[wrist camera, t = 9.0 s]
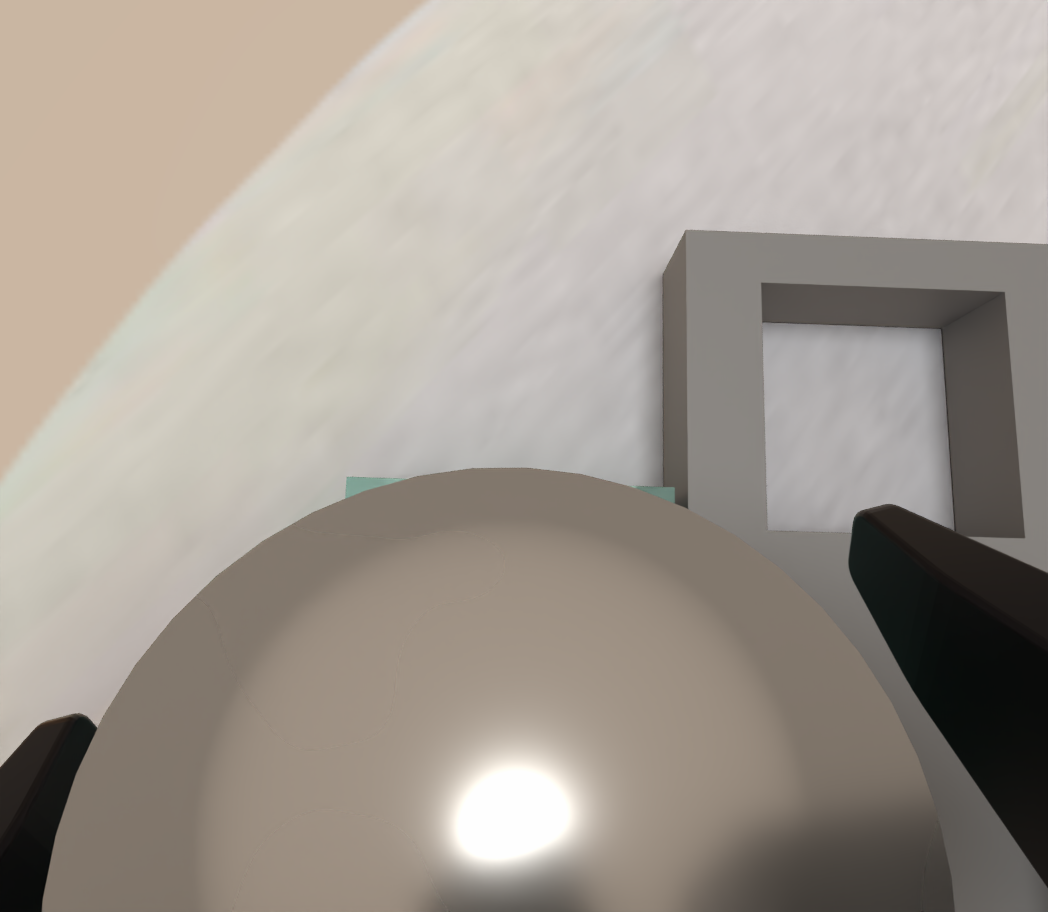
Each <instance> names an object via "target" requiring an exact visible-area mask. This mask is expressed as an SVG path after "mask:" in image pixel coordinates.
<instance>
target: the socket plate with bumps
mask: <svg viewBox="0 0 1048 912" xmlns="http://www.w3.org/2000/svg"><path fill="white" fill-rule="evenodd" d="M762 322H784V323H811V324H838V325H865V326H892V327H919V328H942V334H943V349H944V364H945V379H946V393H947V408H948V423H949V438H950V453H951V468H952V483H953V498H954V513H955V527H956V532H958V533H960V534H962V535H964V536H967V537H969V538H971V539H973V540H976V541H978V542H980V543H982V544H985V545H987V546H989V547H991V548H994V549H996V550H998V551H1000V552H1003V553H1005V554H1007V555H1010V556H1012V557H1014V558H1016V559H1019V560H1021V561H1023V562H1025V563H1028V564H1030V565H1032V566H1034V567H1037V568H1039V569H1041V570H1043V571H1046V572H1048V244H1029V243H1003V242H978V241H953V240H928V239H903V238H878V237H853V236H828V235H803V234H778V233H753V232H728V231H703V230H686V231H685V233H684V234H683V236H682V238H681V240H680V242H679V244H678V246H677V248H676V250H675V252H674V254H673V256H672V258H671V260H670V261H669V263H668V265H667V267H666V269H665V271H664V273H663V469H664V487H675V504H677V505H679V506H682V507H685V508H687V509H689V510H690V511H692V512H694V513H696V514H698V515H699V516H701V517H703V518H705V519H707V520H708V521H710V522H712V523H714V524H716V525H718V526H719V527H721V528H723V529H725V530H727V531H728V532H730V533H732V534H734V535H735V536H737V537H738V538H739V539H741V540H742V541H744V542H745V543H746V544H748V545H749V546H750V547H752V548H753V549H755V550H756V551H757V552H759V553H760V554H761V555H763V556H764V557H766V558H767V559H768V560H770V561H771V562H772V563H774V564H775V565H777V566H778V567H779V568H781V569H782V570H783V571H784V572H785V573H786V574H787V575H788V576H789V577H790V578H791V579H792V580H793V581H794V582H795V583H796V584H798V585H799V586H800V587H801V588H802V589H803V590H804V591H805V592H806V593H807V594H808V595H809V596H810V597H811V598H812V599H813V600H815V601H816V602H817V603H818V604H819V605H820V606H821V607H822V608H823V609H824V611H825V612H826V613H827V614H828V615H829V617H830V618H831V619H832V620H833V621H834V623H835V624H836V625H837V626H838V627H839V629H840V630H841V631H842V632H843V633H844V635H845V636H846V637H847V638H848V639H849V641H850V642H851V643H852V644H853V645H854V647H855V648H856V649H857V650H858V651H859V653H860V654H861V656H862V657H863V659H864V661H865V662H866V664H867V665H868V667H869V668H870V670H871V671H872V673H873V675H874V676H875V678H876V679H877V681H878V682H879V684H880V685H881V687H882V688H883V690H884V692H885V693H886V695H887V696H888V698H889V699H890V701H891V703H892V705H893V707H894V709H895V711H896V713H897V715H898V717H899V719H900V721H901V723H902V725H903V727H904V729H905V731H906V733H907V735H908V738H909V740H910V742H911V744H912V746H913V748H914V750H915V752H916V754H917V756H918V759H919V762H920V764H921V767H922V770H923V773H924V776H925V779H926V782H927V785H928V788H929V790H930V793H931V796H932V799H933V802H934V805H935V808H936V811H937V814H938V817H939V822H940V826H941V831H942V835H943V840H944V845H945V849H946V854H947V858H948V863H949V868H950V872H951V877H952V887H953V897H954V907H955V912H1048V888H1047V887H1046V885H1045V884H1044V882H1043V881H1042V879H1041V878H1040V877H1039V875H1038V874H1037V872H1036V871H1035V869H1034V868H1033V866H1032V865H1031V863H1030V862H1029V860H1028V859H1027V858H1026V856H1025V855H1024V853H1023V852H1022V850H1021V849H1020V847H1019V846H1018V844H1017V843H1016V842H1015V840H1014V839H1013V837H1012V836H1011V834H1010V833H1009V831H1008V830H1007V828H1006V827H1005V825H1004V824H1003V823H1002V821H1001V820H1000V818H999V817H998V815H997V814H996V812H995V811H994V809H993V808H992V807H991V805H990V804H989V802H988V801H987V799H986V798H985V796H984V795H983V793H982V792H981V791H980V789H979V788H978V786H977V785H976V783H975V782H974V780H973V779H972V777H971V776H970V774H969V773H968V772H967V770H966V769H965V767H964V766H963V764H962V763H961V761H960V760H959V758H958V757H957V756H956V754H955V753H954V751H953V750H952V748H951V747H950V745H949V744H948V742H947V741H946V740H945V738H944V737H943V735H942V734H941V732H940V731H939V729H938V728H937V726H936V725H935V723H934V722H933V721H932V719H931V718H930V716H929V715H928V713H927V712H926V710H925V709H924V707H923V706H922V704H921V703H920V701H919V700H918V698H917V697H916V695H915V694H914V692H913V690H912V689H911V687H910V685H909V683H908V682H907V680H906V678H905V676H904V675H903V673H902V671H901V669H900V667H899V666H898V664H897V662H896V660H895V658H894V656H893V654H892V653H891V651H890V649H889V647H888V645H887V643H886V641H885V640H884V638H883V636H882V634H881V632H880V630H879V628H878V627H877V625H876V623H875V621H874V619H873V617H872V615H871V614H870V612H869V610H868V608H867V606H866V604H865V602H864V601H863V599H862V597H861V595H860V593H859V591H858V589H857V588H856V586H855V584H854V582H853V580H852V578H851V575H850V571H849V566H848V557H849V549H850V542H851V534H852V533H829V532H797V531H767V495H766V456H765V417H764V378H763V339H762Z"/></svg>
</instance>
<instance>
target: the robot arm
mask: <svg viewBox="0 0 1048 912" xmlns="http://www.w3.org/2000/svg"><path fill="white" fill-rule="evenodd" d="M848 566H849V571H850V575H851V578H852V580H853V582H854V584H855V586H856V588H857V589H858V591H859V593H860V595H861V597H862V599H863V601H864V602H865V604H866V606H867V608H868V610H869V612H870V614H871V615H872V617H873V619H874V621H875V623H876V625H877V627H878V628H879V630H880V632H881V634H882V636H883V638H884V640H885V641H886V643H887V645H888V647H889V649H890V651H891V653H892V654H893V656H894V658H895V660H896V662H897V664H898V666H899V667H900V669H901V671H902V673H903V675H904V676H905V678H906V680H907V682H908V683H909V685H910V687H911V689H912V690H913V692H914V694H915V695H916V697H917V698H918V700H919V701H920V703H921V704H922V706H923V707H924V709H925V710H926V712H927V713H928V715H929V716H930V718H931V719H932V721H933V722H934V723H935V725H936V726H937V728H938V729H939V731H940V732H941V734H942V735H943V737H944V738H945V740H946V741H947V742H948V744H949V745H950V747H951V748H952V750H953V751H954V753H955V754H956V756H957V757H958V758H959V760H960V761H961V763H962V764H963V766H964V767H965V769H966V770H967V772H968V773H969V774H970V776H971V777H972V779H973V780H974V782H975V783H976V785H977V786H978V788H979V789H980V791H981V792H982V793H983V795H984V796H985V798H986V799H987V801H988V802H989V804H990V805H991V807H992V808H993V809H994V811H995V812H996V814H997V815H998V817H999V818H1000V820H1001V821H1002V823H1003V824H1004V825H1005V827H1006V828H1007V830H1008V831H1009V833H1010V834H1011V836H1012V837H1013V839H1014V840H1015V842H1016V843H1017V844H1018V846H1019V847H1020V849H1021V850H1022V852H1023V853H1024V855H1025V856H1026V858H1027V859H1028V860H1029V862H1030V863H1031V865H1032V866H1033V868H1034V869H1035V871H1036V872H1037V874H1038V875H1039V877H1040V878H1041V879H1042V881H1043V882H1044V884H1045V885H1046V887H1047V888H1048V572H1046V571H1043V570H1041V569H1039V568H1037V567H1034V566H1032V565H1030V564H1028V563H1025V562H1023V561H1021V560H1019V559H1016V558H1014V557H1012V556H1010V555H1007V554H1005V553H1003V552H1000V551H998V550H996V549H994V548H991V547H989V546H987V545H985V544H982V543H980V542H978V541H976V540H973V539H971V538H969V537H967V536H964V535H962V534H960V533H958V532H955V531H953V530H951V529H949V528H946V527H944V526H942V525H940V524H937V523H935V522H933V521H931V520H928V519H926V518H924V517H922V516H919V515H917V514H915V513H913V512H910V511H908V510H906V509H904V508H901V507H899V506H896V505H893V504H885V505H881V506H877V507H873V508H869V509H865V510H861V511H860V512H858V513H857V514H856V516H855V517H854V521H853V527H852V534H851V542H850V549H849V557H848ZM96 731H97V727H96V726H95V725H94V723H93V722H92V721H91V720H90V719H89V718H88V717H87V716H85V715H83V714H80V713H78V714H76V713H75V714H71V715H67V716H63V717H59V718H56V719H52V720H48V721H45V722H43V723H41V724H40V725H38V726H37V727H36V728H35V729H34V730H33V731H32V732H31V733H30V735H29V736H28V737H27V738H26V739H25V740H24V741H23V742H22V743H21V745H20V746H19V747H18V748H17V749H16V750H15V751H14V752H13V754H12V755H11V756H10V757H9V758H8V759H7V760H6V761H5V763H4V764H3V765H2V766H1V767H0V912H42V902H43V896H44V891H45V886H46V881H47V876H48V871H49V866H50V861H51V856H52V851H53V846H54V841H55V836H56V833H57V830H58V827H59V824H60V821H61V818H62V815H63V812H64V809H65V806H66V803H67V800H68V797H69V794H70V791H71V788H72V785H73V782H74V779H75V776H76V773H77V771H78V769H79V767H80V765H81V763H82V760H83V758H84V756H85V754H86V752H87V750H88V748H89V746H90V743H91V741H92V739H93V737H94V735H95V733H96Z"/></svg>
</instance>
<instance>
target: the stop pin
mask: <svg viewBox="0 0 1048 912" xmlns="http://www.w3.org/2000/svg"><path fill="white" fill-rule="evenodd" d="M42 912H955V907H954V897H953V887H952V877H951V872H950V868H949V863H948V858H947V854H946V849H945V845H944V840H943V835H942V831H941V826H940V822H939V817H938V814H937V811H936V808H935V805H934V802H933V799H932V796H931V793H930V790H929V788H928V785H927V782H926V779H925V776H924V773H923V770H922V767H921V764H920V762H919V759H918V756H917V754H916V752H915V750H914V748H913V746H912V744H911V742H910V740H909V738H908V735H907V733H906V731H905V729H904V727H903V725H902V723H901V721H900V719H899V717H898V715H897V713H896V711H895V709H894V707H893V705H892V703H891V701H890V699H889V698H888V696H887V695H886V693H885V692H884V690H883V688H882V687H881V685H880V684H879V682H878V681H877V679H876V678H875V676H874V675H873V673H872V671H871V670H870V668H869V667H868V665H867V664H866V662H865V661H864V659H863V657H862V656H861V654H860V653H859V651H858V650H857V649H856V648H855V647H854V645H853V644H852V643H851V642H850V641H849V639H848V638H847V637H846V636H845V635H844V633H843V632H842V631H841V630H840V629H839V627H838V626H837V625H836V624H835V623H834V621H833V620H832V619H831V618H830V617H829V615H828V614H827V613H826V612H825V611H824V609H823V608H822V607H821V606H820V605H819V604H818V603H817V602H816V601H815V600H813V599H812V598H811V597H810V596H809V595H808V594H807V593H806V592H805V591H804V590H803V589H802V588H801V587H800V586H799V585H798V584H796V583H795V582H794V581H793V580H792V579H791V578H790V577H789V576H788V575H787V574H786V573H785V572H784V571H783V570H782V569H781V568H779V567H778V566H777V565H775V564H774V563H772V562H771V561H770V560H768V559H767V558H766V557H764V556H763V555H761V554H760V553H759V552H757V551H756V550H755V549H753V548H752V547H750V546H749V545H748V544H746V543H745V542H744V541H742V540H741V539H739V538H738V537H737V536H735V535H734V534H732V533H730V532H728V531H727V530H725V529H723V528H721V527H719V526H718V525H716V524H714V523H712V522H710V521H708V520H707V519H705V518H703V517H701V516H699V515H698V514H696V513H694V512H692V511H690V510H689V509H687V508H685V507H682V506H679V505H677V504H674V503H672V502H669V501H667V500H664V499H662V498H659V497H657V496H654V495H652V494H649V493H647V492H644V491H642V490H639V489H636V488H634V487H630V486H626V485H622V484H618V483H614V482H610V481H606V480H602V479H598V478H594V477H590V476H586V475H582V474H575V473H566V472H558V471H550V470H541V469H533V468H472V469H465V470H458V471H451V472H444V473H437V474H430V475H423V476H417V477H413V478H409V479H406V480H402V481H398V482H395V483H391V484H388V485H384V486H380V487H377V488H373V489H369V490H366V491H363V492H360V493H358V494H356V495H353V496H351V497H349V498H346V499H344V500H341V501H339V502H337V503H334V504H332V505H329V506H327V507H325V508H322V509H320V510H318V511H315V512H313V513H311V514H309V515H307V516H306V517H304V518H302V519H300V520H299V521H297V522H295V523H294V524H292V525H290V526H288V527H287V528H285V529H283V530H281V531H280V532H278V533H276V534H274V535H273V536H271V537H269V538H268V539H266V540H264V541H262V542H261V543H260V544H258V545H257V546H256V547H254V548H253V549H252V550H250V551H249V552H248V553H247V554H245V555H244V556H243V557H241V558H240V559H239V560H237V561H236V562H235V563H233V564H232V565H231V566H229V567H228V568H227V569H225V570H224V571H223V572H221V573H220V574H219V575H217V576H216V577H215V578H214V579H213V580H212V581H211V582H210V583H209V584H208V585H207V586H206V587H205V588H204V589H203V590H202V591H201V592H200V593H199V594H198V595H197V596H195V597H194V598H193V599H192V600H191V601H190V602H189V603H188V604H187V605H186V606H185V607H184V608H183V609H182V610H181V611H180V612H179V613H178V614H177V615H176V616H175V617H174V618H173V619H172V620H171V622H170V623H169V624H168V625H167V627H166V628H165V629H164V630H163V631H162V633H161V634H160V635H159V636H158V638H157V639H156V640H155V641H154V643H153V644H152V645H151V646H150V648H149V649H148V650H147V651H146V653H145V654H144V655H143V656H142V658H141V659H140V660H139V661H138V662H137V664H136V665H135V667H134V668H133V670H132V671H131V673H130V675H129V676H128V678H127V679H126V681H125V683H124V684H123V686H122V687H121V689H120V691H119V692H118V694H117V695H116V697H115V699H114V700H113V702H112V703H111V705H110V707H109V708H108V710H107V711H106V713H105V715H104V716H103V718H102V720H101V722H100V724H99V726H98V728H97V731H96V733H95V735H94V737H93V739H92V741H91V743H90V746H89V748H88V750H87V752H86V754H85V756H84V758H83V760H82V763H81V765H80V767H79V769H78V771H77V773H76V776H75V779H74V782H73V785H72V788H71V791H70V794H69V797H68V800H67V803H66V806H65V809H64V812H63V815H62V818H61V821H60V824H59V827H58V830H57V833H56V836H55V841H54V846H53V851H52V856H51V861H50V866H49V871H48V876H47V881H46V886H45V891H44V896H43V902H42Z"/></svg>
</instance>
